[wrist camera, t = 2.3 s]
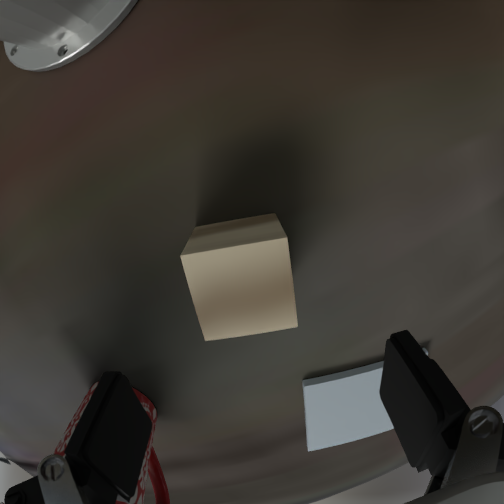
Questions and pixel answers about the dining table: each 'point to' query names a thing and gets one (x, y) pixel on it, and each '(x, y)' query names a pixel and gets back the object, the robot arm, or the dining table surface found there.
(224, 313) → the maple block
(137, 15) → the dining table surface
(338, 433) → the pad
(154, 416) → the mug
